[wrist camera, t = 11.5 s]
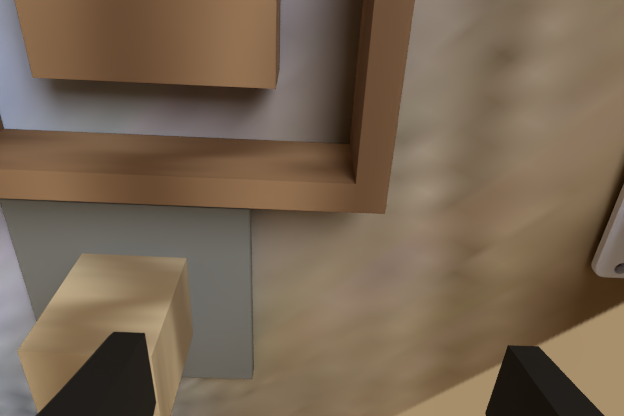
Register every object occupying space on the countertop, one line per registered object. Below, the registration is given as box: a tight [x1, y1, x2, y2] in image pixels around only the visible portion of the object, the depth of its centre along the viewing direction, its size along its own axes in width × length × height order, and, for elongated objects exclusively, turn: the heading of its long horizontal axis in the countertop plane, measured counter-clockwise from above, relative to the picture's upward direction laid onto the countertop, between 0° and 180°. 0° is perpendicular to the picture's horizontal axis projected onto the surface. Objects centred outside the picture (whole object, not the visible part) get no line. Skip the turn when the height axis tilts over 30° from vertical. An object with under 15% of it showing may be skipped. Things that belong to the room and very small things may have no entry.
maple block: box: [17, 253, 193, 416], centre depth 19 cm, size 4×4×5 cm
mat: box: [0, 198, 254, 379], centre depth 21 cm, size 9×9×1 cm
